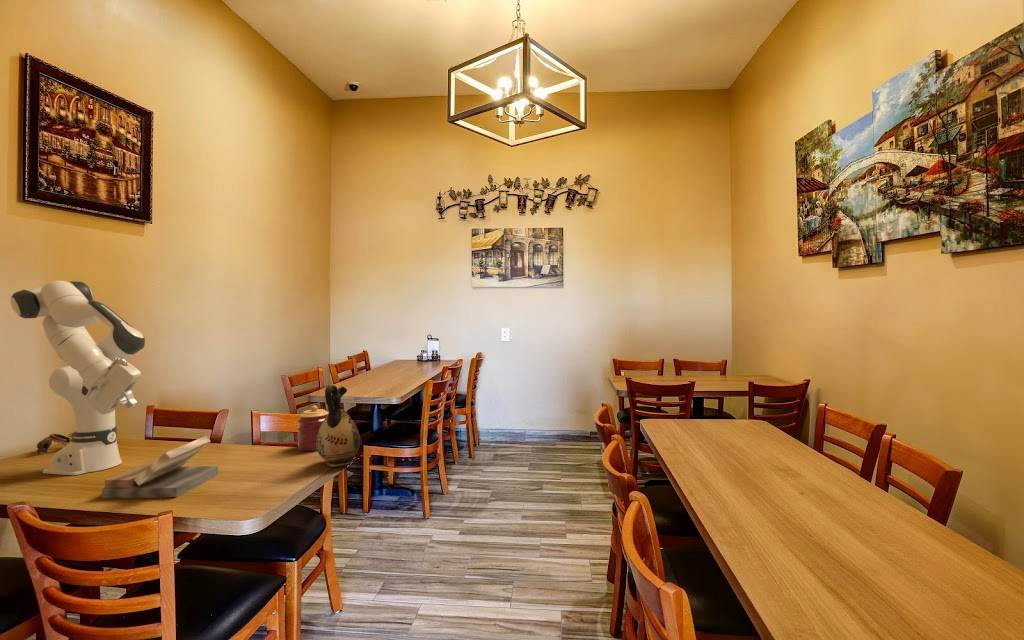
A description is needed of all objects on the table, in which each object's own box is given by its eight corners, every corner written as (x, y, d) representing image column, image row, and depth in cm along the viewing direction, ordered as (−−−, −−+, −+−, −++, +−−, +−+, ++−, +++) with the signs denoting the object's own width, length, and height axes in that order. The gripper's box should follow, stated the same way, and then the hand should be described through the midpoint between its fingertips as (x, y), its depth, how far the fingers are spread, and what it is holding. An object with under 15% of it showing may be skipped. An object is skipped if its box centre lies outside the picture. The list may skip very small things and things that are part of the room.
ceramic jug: (329, 456, 181) (328, 380, 181) (367, 457, 180) (365, 380, 179) (305, 471, 164) (304, 387, 164) (347, 472, 163) (345, 387, 162)
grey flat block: (102, 498, 142) (101, 480, 142) (152, 475, 162) (152, 459, 162) (176, 497, 142) (176, 479, 142) (217, 474, 162) (217, 458, 162)
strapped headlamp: (43, 450, 196) (57, 432, 198) (66, 459, 197) (79, 441, 199) (22, 451, 184) (37, 431, 187) (46, 460, 185) (60, 441, 188)
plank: (139, 485, 142) (133, 479, 142) (182, 465, 161) (178, 459, 161) (170, 458, 142) (165, 452, 142) (210, 441, 161) (206, 435, 161)
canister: (326, 441, 203) (325, 401, 203) (335, 447, 193) (334, 405, 193) (294, 446, 195) (293, 405, 195) (302, 453, 185) (301, 410, 185)
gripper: (128, 352, 150) (158, 382, 150) (98, 391, 155) (127, 420, 155) (108, 357, 144) (139, 389, 144) (77, 397, 149) (108, 428, 149)
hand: (133, 405), depth 150 cm, fingers closed
